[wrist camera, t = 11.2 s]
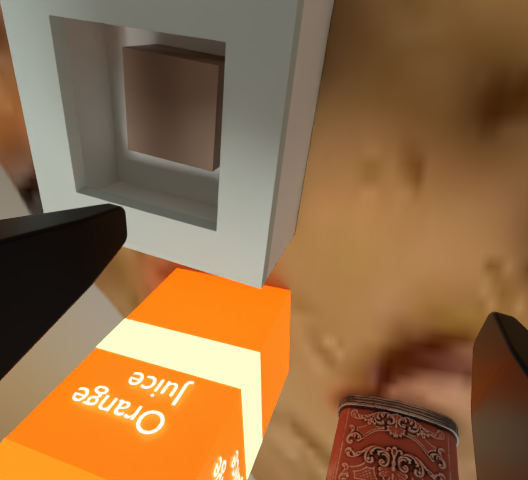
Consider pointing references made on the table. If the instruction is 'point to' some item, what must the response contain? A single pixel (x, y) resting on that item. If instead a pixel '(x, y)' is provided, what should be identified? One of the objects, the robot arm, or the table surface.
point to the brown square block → (174, 103)
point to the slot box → (160, 170)
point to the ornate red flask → (392, 442)
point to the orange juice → (165, 390)
